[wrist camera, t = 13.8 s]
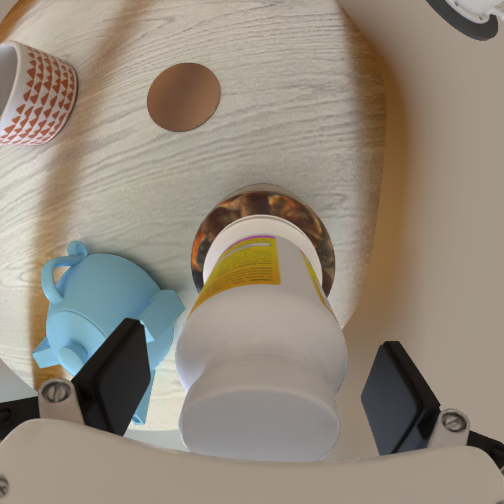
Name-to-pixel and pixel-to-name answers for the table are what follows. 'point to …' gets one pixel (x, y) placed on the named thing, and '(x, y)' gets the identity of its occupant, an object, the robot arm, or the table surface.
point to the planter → (33, 94)
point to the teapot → (103, 311)
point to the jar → (262, 230)
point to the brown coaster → (183, 97)
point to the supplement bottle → (261, 358)
